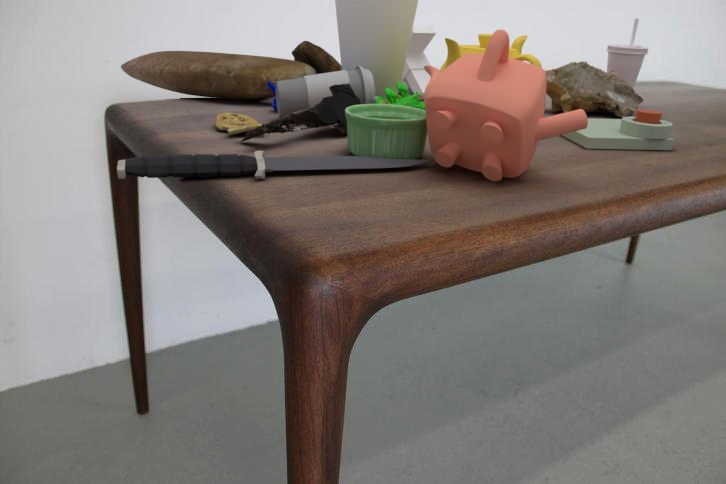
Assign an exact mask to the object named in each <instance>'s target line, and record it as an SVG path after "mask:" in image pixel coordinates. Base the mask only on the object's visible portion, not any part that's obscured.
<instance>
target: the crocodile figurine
mask: <svg viewBox="0 0 726 484" xmlns="http://www.w3.org/2000/svg"><path fill="white" fill-rule="evenodd" d="M396 87H397V89H398V90H399V93H396V92H395V91H394V90H393V89H391V88H389V87H387V88H385V94H386V96H387V99H388V101H387V100H386V99H385V98H383V97H381V96H375V97H374V98H373V101H374V104H391V105H402V106H409V107H415V108H419V109H423V110H426V109H425V105H424V101H422V100H419V97H423V96H422V95H421V93H418V92H416V93H415V94H410V95H408V93H407V91H408V88H407V87H406V86H405V85H404V84H403V83H401V82H397V84H396ZM400 93H402V94H400Z"/></svg>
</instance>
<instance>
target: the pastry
mask: <svg viewBox="0 0 726 484" xmlns="http://www.w3.org/2000/svg"><path fill="white" fill-rule="evenodd" d="M215 121H216V122H215V123H216V125H215V126H216V129H218V130H219V131H226V132H227V133H228V135H237V134H241V133H246V132H248V131H249V130H251V129H252V130H253V129H255V128H257V126H261V125H262V124H263V123H259V121H258V120H256V119H254V118H253V117H251V116H250V115H245V114H243V113H235V112H220V113H218V114H217V115H216V117H215Z"/></svg>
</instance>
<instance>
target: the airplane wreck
mask: <svg viewBox="0 0 726 484" xmlns="http://www.w3.org/2000/svg"><path fill="white" fill-rule="evenodd" d="M329 89H330V91H331V93H332V95H333V96H329V97H324V98H323V99H322V101H321V102H320V103H319V104H317V105H315V106H314V107H313V108H310V109H306V110H302V111H297V112H294V113H291V114H289V115H287V116H284V117H283V116H282V117H281V116H278V117H276V118H275V119H273V120H271V121H269V122H265V123H261V124H262V125H261V126H257V128H255V129H253V130H252V129H251V130H249V131H245V135H244V136H245V137H244V138H241V141H239V143H242V142H245V141H248V140H251V139H253V138H255V137H258V136H261V139H264V135H266V134H267V135H271V134H284V133H294V132H297V131H299V130H298V129H296V128H300V130H301V131H306V130H311V129H318V128H320V127H321V128H322V127H328V126H333V127H334V129H336V130H337V131H340V132H339V133H340V134H342V133H343V134H347V119H346V116H345V109H346V108H347V107H349V106H353V105H360V104H361V102H360V100H359V97H357V96H356V95H355V93H354V91H353V89H352V87H351V85H350V84H349V83H348V84H340V85H333V86H330V87H329ZM290 120H291V121H292V122H290ZM301 123H302V124H301ZM292 124H293V125H292ZM302 125H304V126H306V127H300V126H302ZM283 126H284V127H283Z"/></svg>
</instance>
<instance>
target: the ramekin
mask: <svg viewBox="0 0 726 484" xmlns="http://www.w3.org/2000/svg"><path fill="white" fill-rule="evenodd" d="M345 116H346V119H347V133H346V134H347V148H348V151H349V152H350V153H351V154H352V155H353V156H371V157H381V158H392V159H414V160H417V159H419V158H420V157H422V156H423V155H424V152H425V148H426V143H427V137H428V132H427V123H426V110H423V109H420V108H415V107H409V106H402V105H391V104H360V105H353V106H349V107H347V108H346V109H345Z"/></svg>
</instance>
